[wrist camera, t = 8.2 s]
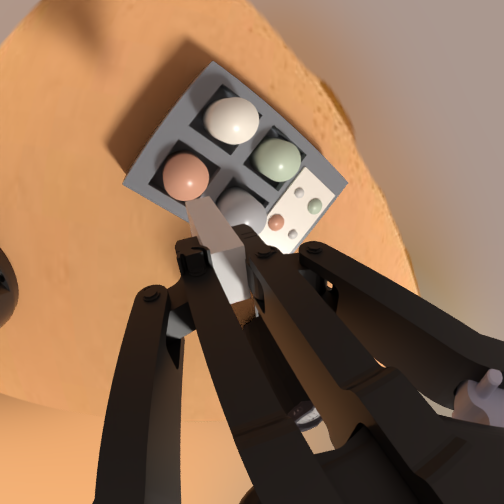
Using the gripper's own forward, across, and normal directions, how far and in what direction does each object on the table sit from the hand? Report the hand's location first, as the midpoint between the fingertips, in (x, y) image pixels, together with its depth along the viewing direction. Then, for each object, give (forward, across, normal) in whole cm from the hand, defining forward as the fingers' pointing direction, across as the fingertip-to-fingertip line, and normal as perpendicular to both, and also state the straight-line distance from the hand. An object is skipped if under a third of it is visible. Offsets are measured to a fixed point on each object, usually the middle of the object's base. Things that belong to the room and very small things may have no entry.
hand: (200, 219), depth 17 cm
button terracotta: (+15, +1, 0) cm, 15 cm away
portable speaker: (+17, +9, -29) cm, 34 cm away
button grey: (+13, +5, -5) cm, 15 cm away
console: (+16, +7, -2) cm, 18 cm away
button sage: (+15, +10, 0) cm, 18 cm away
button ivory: (+13, +5, +5) cm, 15 cm away
